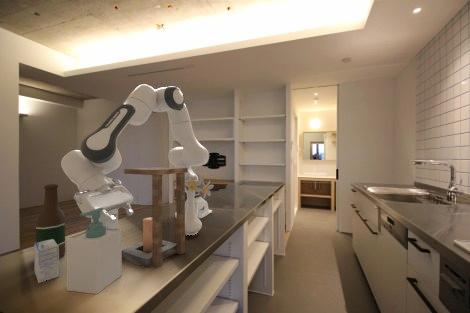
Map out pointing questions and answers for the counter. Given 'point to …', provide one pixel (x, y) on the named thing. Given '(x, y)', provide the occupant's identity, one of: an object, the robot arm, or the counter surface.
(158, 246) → the brown wooden tall frame
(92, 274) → the soap bottle
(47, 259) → the medicine box
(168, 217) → the counter surface
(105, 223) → the supplement box
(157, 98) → the robot arm
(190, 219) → the flower vase
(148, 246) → the peg
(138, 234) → the counter surface
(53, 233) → the beer bottle
